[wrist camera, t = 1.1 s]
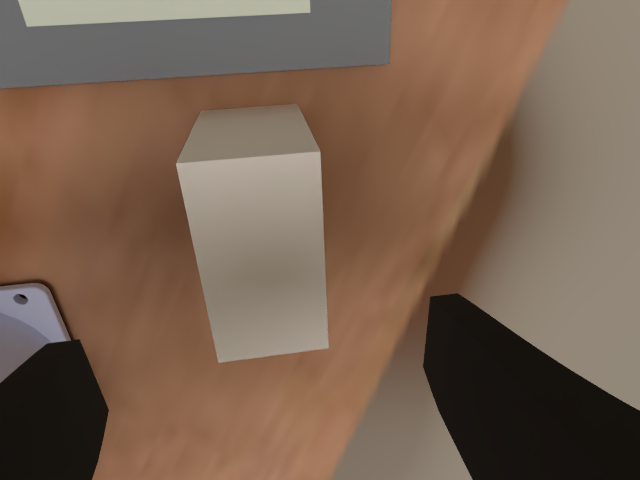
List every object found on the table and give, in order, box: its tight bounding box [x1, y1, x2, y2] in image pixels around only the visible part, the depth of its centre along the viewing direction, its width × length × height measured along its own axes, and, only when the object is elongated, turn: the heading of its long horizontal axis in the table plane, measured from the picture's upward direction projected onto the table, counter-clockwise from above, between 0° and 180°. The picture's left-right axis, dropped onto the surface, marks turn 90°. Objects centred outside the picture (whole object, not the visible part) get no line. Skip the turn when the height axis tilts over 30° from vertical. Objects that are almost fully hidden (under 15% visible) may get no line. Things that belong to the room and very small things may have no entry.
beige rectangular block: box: [176, 104, 329, 363], centre depth 15 cm, size 4×6×6 cm, turn 2°
